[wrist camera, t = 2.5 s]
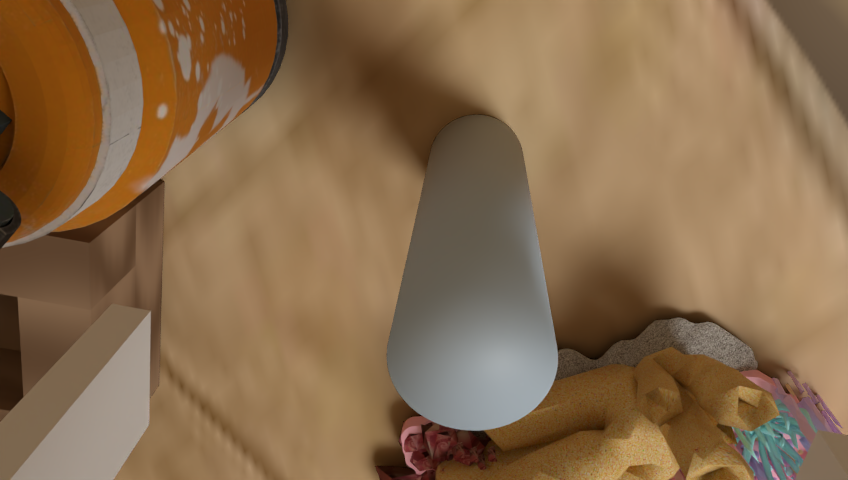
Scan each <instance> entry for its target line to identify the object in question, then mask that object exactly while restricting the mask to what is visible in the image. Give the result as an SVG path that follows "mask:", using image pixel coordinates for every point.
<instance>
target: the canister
mask: <svg viewBox="0 0 848 480" xmlns="http://www.w3.org/2000/svg"><path fill="white" fill-rule="evenodd" d="M287 37H288V13H287V6H286V0H0V249H1V248H3V247H8V246H13V245H18V244H23V243H27V242H29V241H32V240H34V239H37V238H39V237H42V236H44V235H47V234H48V233H50V232H61V231H66V230H71V229H76V228H81V227H85V226H88V225H90V224H93V223H95V222H98V221H101V220H103V219H106V218H107V217H109V216H111V215H112V214H114V213H115V212H117V211H119V210H120V209H122V208H124V207H125V206H126V205H128V204H129V203H130V202H131V201H133V200H134V199H135V198H136V197H138V196H139V195H140V194H141V193H143V192H144V191H145V190H146V189H148V188H149V187H150V186H151V185H153V184H154V183H155V182H156V181H158V180H159V179H160V178H161V177H163V176H164V175H165V174H166V173H168V172H169V171H170V170H171V169H173V168H174V167H175V166H176V165H178V164H179V163H180V162H181V161H183V160H184V159H185V158H186V157H188V156H189V155H190V154H191V153H193V152H194V151H195V150H196V149H198V148H199V147H200V146H202V145H203V144H204V143H205V142H207V141H208V140H209V139H210V138H212V137H213V136H214V135H215V134H217V133H218V132H219V131H220V130H222V129H223V128H224V127H225V126H227V125H228V124H229V123H230V122H232V121H233V120H234V119H235V118H237V117H238V116H239V115H240V114H241V113H243V112H244V111H245V110H247V109H248V108H249V107H250V106H251V105H252V104H254V103H255V102H256V101H257V100H258V99H259V98H260V97H261V96H262V95H263V94H264V93H265V91H266V90H267V89H268V87H269V86H270V85H271V84H272V82H273V80H274V78H275V76H276V74H277V72H278V71H279V69H280V66H281V63H282V60H283V57H284V54H285V49H286V43H287Z"/></svg>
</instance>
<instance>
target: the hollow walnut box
mask: <svg viewBox="0 0 848 480" xmlns="http://www.w3.org/2000/svg"><path fill="white" fill-rule="evenodd" d="M163 218H164V181H156V182H155V183H154V184H153V185H151V186H150V187H149V188H148V189H146V190H145V191H144V192H143V193H141V194H140V195H139V196H138V197H136V198H135V199H134V200H133V201H131V202H130V203H129V204H128V205H126V206H125V207H124V208H122V209H120V210H119V211H117V212H115V213H114V214H112V215H111V216H109V217H107V218H106V219H103V220H101V221H98V222H95V223H93V224H90V225H88V226H85V227H81V228H76V229H71V230H66V231H61V232H50V233H48V234H47V235H44V236H42V237H39V238H37V239H34V240H32V241H29V242H27V243H23V244H18V245H13V246H8V247H3V248H1V249H0V422H1V421H2V419H3V418H4V417H5V416H6V415H7V414H8V413H9V412H10V411H11V410H12V409H13V408H14V407H15V406H16V405H17V404H18V403H19V401H20V400H21V399H22V398H23V397H24V396H25V395H26V394H27V393H28V392H29V391H30V390H31V389H32V388H33V387H34V386H35V385H36V384H37V382H38V381H39V380H40V379H41V378H42V377H43V376H44V375H45V374H46V373H47V372H48V371H49V370H50V369H51V368H52V367H53V366H54V364H55V363H56V362H57V361H58V360H59V359H60V358H61V357H62V356H63V355H64V354H65V353H66V352H67V351H68V350H69V349H70V348H71V347H72V345H73V344H74V343H75V342H76V341H77V340H78V339H79V338H80V337H81V336H82V335H83V334H84V333H85V332H86V331H87V330H88V329H89V328H90V326H91V325H92V324H93V323H94V322H95V321H96V320H97V319H98V318H99V317H100V316H101V315H102V314H103V313H104V312H105V311H106V310H107V308H108V307H109V306H110V305H111V304H116V305H122V306H127V307H133V308H138V309H144V310H150V311H151V334H150V398H151V396H152V395H153V393H154V392H155V390H156V389H157V388H158V386H159V369H160V331H161V293H162V256H163Z"/></svg>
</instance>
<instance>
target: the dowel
mask: <svg viewBox="0 0 848 480" xmlns="http://www.w3.org/2000/svg"><path fill="white" fill-rule="evenodd" d="M387 365H388V370H389V374H390V377H391V380H392V382H393V384H394V386H395V388H396V390H397V392H398V393H399V394H400V396H401V397H402V398H403V400H404V401H405V402H406V403H407V404H408V405H409V406H410V407H411V408H412V409H414V410H415V411H416V412H417V413H419V414H420V415H422V416H423V417H425V418H427V419H429V420H431V421H433V422H435V423H437V424H440V425H443V426H446V427H450V428H454V429H460V430H473V431H479V430H489V429H494V428H499V427H502V426H505V425H508V424H511V423H513V422H515V421H517V420H519V419H521V418H522V417H524V416H526V415H527V414H529V413H530V412H531V411H532V410H534V409H535V408H536V407H537V406H538V405H539V404H540V403H541V402H542V401H543V399H544V398H545V396H546V395H547V394H548V392H549V390H550V388H551V386H552V385H553V382H554V379H555V376H556V372H557V367H558V351H557V344H556V338H555V332H554V327H553V321H552V315H551V310H550V304H549V298H548V293H547V287H546V281H545V276H544V270H543V264H542V259H541V253H540V247H539V242H538V236H537V231H536V225H535V219H534V214H533V208H532V202H531V197H530V191H529V185H528V180H527V174H526V168H525V163H524V157H523V151H522V147H521V144H520V142H519V140H518V138H517V136H516V135H515V133H514V132H513V131H512V130H511V129H510V128H509V127H508V126H507V125H506V124H505V123H503V122H502V121H500V120H498V119H496V118H493V117H490V116H486V115H467V116H463V117H460V118H458V119H455V120H454V121H452V122H450V123H449V124H447V125H446V126H445V127H444V128H443V129H442V130H441V131H440V132H439V134H438V135H437V136H436V138H435V140H434V142H433V145H432V148H431V152H430V156H429V161H428V165H427V170H426V174H425V179H424V183H423V188H422V192H421V197H420V201H419V206H418V210H417V215H416V219H415V224H414V228H413V233H412V237H411V242H410V246H409V251H408V255H407V260H406V264H405V269H404V273H403V278H402V282H401V287H400V291H399V296H398V300H397V305H396V309H395V314H394V318H393V323H392V327H391V332H390V336H389V341H388V345H387Z"/></svg>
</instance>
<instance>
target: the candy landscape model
mask: <svg viewBox="0 0 848 480" xmlns="http://www.w3.org/2000/svg"><path fill="white" fill-rule="evenodd" d="M557 351H558V367H557V372H556V376H555V379H554V382H553V385H552V386H551V388H550V390H549V392H548V394H547V395H546V396H545V398H544V399H543V401H542V402H541V403H540V404H539V405H538V406H537V407H536V408H535V409H534V410H532V411H531V412H530V413H529V414H527V415H526V416H524V417H522V418H521V419H519V420H517V421H515V422H513V423H511V424H508V425H505V426H502V427H499V428H494V429H489V430H479V431H473V430H460V429H454V428H450V427H446V426H443V425H440V424H437V423H435V422H433V421H431V420H429V419H427V418H425V417H423V416H418V417H410V418H409V419H407V420H406V421H405V422H403V426H402V430H401V434H400V438H399V443H400V445H401V446H402V448H403V453H404V455H405V462H406V464H407V465H408V466H409V467H411V468H404V467H389V466H375V467H376V470H377V472H378V475H379V478H380V480H795V478H796V476H797V474H798V472H799V470H800V468H801V465H802V463H803V461H804V459H805V457H806V455H807V453H808V450H809V448H810V446H811V444H812V442H813V440H814V438H815V435H816V433H817V431H818V430H822V431H827V432H834V433H838V434H842V433H841V432H840V431H839V429H838V428H837V427H836V426H835V424H837V425H838V426H840V427H841V425H840V424H839V422H838V421H837V419H836V418H835V416H834V415H833V414H832V412H831V411H830V410H829V408H828V407H827V406H826V404H825V403H824V401H823V400H822V398H821V397H820V396H819V395H816V397H817V398H816V397H815V395H814V394H813V393H812V391H811V389H810V388H809V387H808V385H807V384H806V383H804V384H802V385H803V386H804V388H805V389H806V390H807V392H808V395H810V396H811V398H812V400H813V402H812V400H811V399H810V398H809V397H804V398H802V400H801V401H800V402H799V400H798V399H797V397H796V396H795V394H794V392H793V390H792V389H791V387H790V386H789V384H788V383H787V384H786V385H785V386H786V388H787V389H788V391H789V392H790V393H791V394H787V393H785V391H784V389H783V388H782V386H781V384H780V382H779V380H778V379H777V378H770V377H769V376H767V375H765V374H763V373H762V372H760V371H758V370H756V369H757V367H758V363H757V361H756V360H755V358H754V353H753V351H752V349H751V348H750V347H749V346H747V345H746V344H745V343H743V342H742V341H740V340H739V339H737V338H736V337H734V336H733V335H731V334H730V333H729V332H727V331H726V330H724V329H723V328H721V327H720V326H718V325H716V324H715V323H712V322H704V323H699V324H694V323H691V322H689V321H688V320H685V319H683V318H679V317H678V318H673V319H668V320H656V321H654V322H653V323H651V324H650V325H649V326H648V327H647V328H646V329H645V330H644V331H643V332H642V333H641V334H640V335H639V336H638V337H637V338H635V339H633V340H621V341H619V342H617V343H615V344H614V345H613V346H612V347H611V348H610V349H609V350H608V351H607V352H606V353H605V354H604V355H603V356H602V357H601V358H599V359H597V360H591V359H589V358H587V357H585V356H584V355H582V354H580V353H579V352H577V351H575V350H573V349H567V348H565V349H561V350H557ZM787 373H788V374H789V375H790V377H791V378H792V380H793V381H794V383H795V385H796V386H797V388H798V389H799V391H800V393H803V392H804V390H803V388H802V387H801V385H800V383H799V382H798V381H797V379H796V378H795V377H794V375H793V374H792V372H791V371H788V372H787ZM819 402H820V403H821V404H822V406H823V408H824V409H825V410H823V411H822V412H821V413H822V414H821V413H820V411H819V410H818V409H817V407H816V406H815V404H817V403H819ZM826 412H827V413H828V414H827V413H826ZM822 415H823V416H824V417H823V416H822ZM828 415H829V416H830V417H831V418H832V419H833V421H834V422H835V424H834V423H833V422H832V420H831V419H830V417H829V416H828ZM825 419H826V420H825ZM826 421H827V422H826ZM841 428H842V427H841Z"/></svg>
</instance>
